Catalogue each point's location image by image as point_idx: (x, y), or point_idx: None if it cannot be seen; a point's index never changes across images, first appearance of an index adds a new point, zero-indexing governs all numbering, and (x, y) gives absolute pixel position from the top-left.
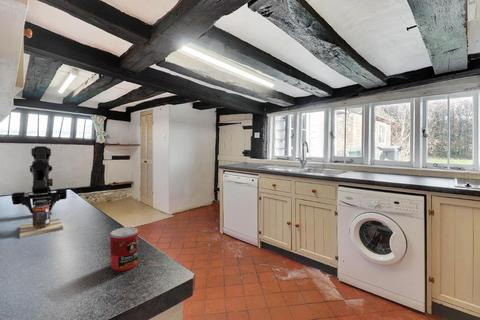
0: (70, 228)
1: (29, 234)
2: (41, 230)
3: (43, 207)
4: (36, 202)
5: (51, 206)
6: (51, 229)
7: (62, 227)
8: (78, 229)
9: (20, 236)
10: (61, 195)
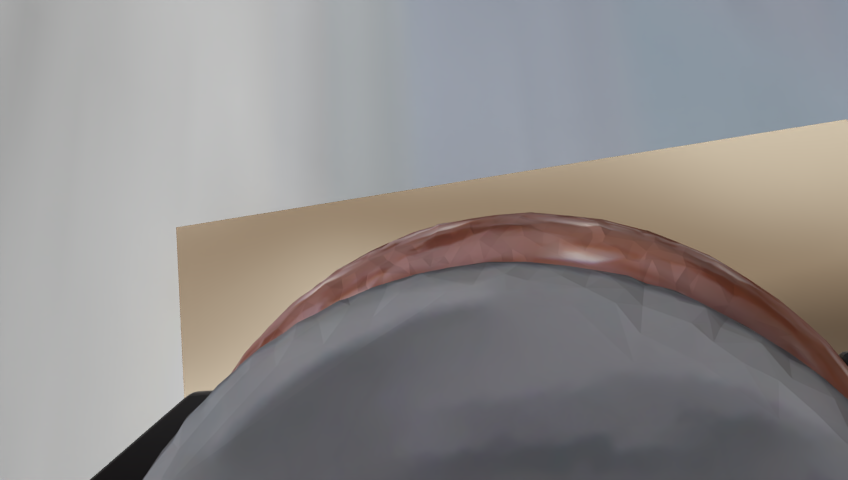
0: (96, 243)
1: (693, 148)
2: None
3: (397, 239)
4: (813, 392)
5: (104, 474)
6: (359, 202)
7: (190, 225)
8: (3, 100)
9: (826, 127)
10: None
